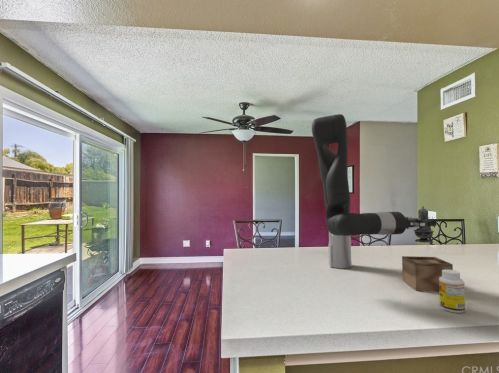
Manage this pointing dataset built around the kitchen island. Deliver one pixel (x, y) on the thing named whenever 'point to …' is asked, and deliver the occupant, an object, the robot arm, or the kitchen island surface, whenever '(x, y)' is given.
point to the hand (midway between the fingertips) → (430, 221)
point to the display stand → (423, 272)
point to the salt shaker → (423, 232)
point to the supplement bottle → (452, 291)
